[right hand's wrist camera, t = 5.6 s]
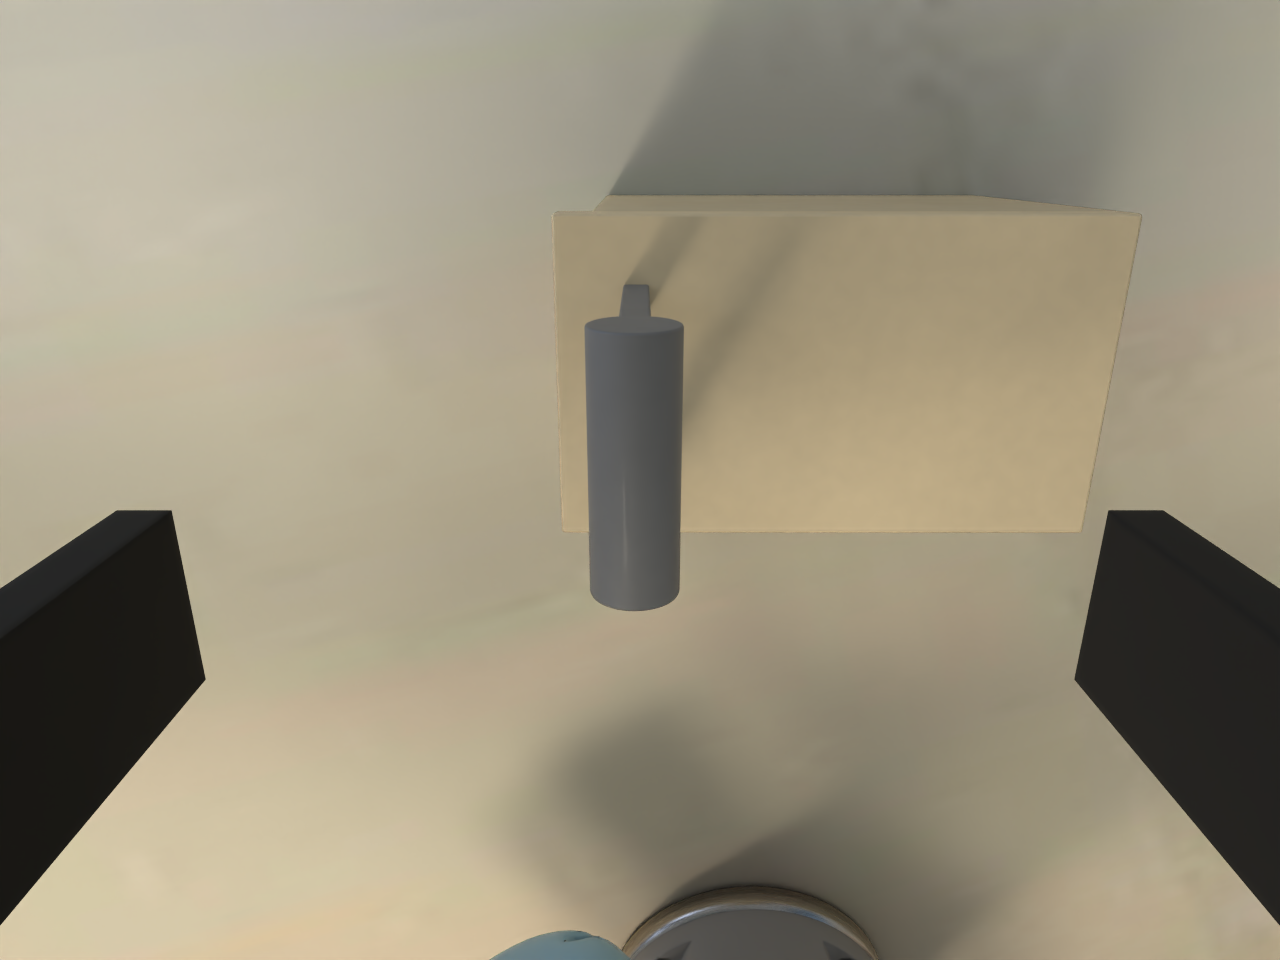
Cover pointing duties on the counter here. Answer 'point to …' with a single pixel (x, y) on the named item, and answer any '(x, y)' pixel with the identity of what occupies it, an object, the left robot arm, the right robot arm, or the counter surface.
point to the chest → (824, 203)
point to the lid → (827, 375)
